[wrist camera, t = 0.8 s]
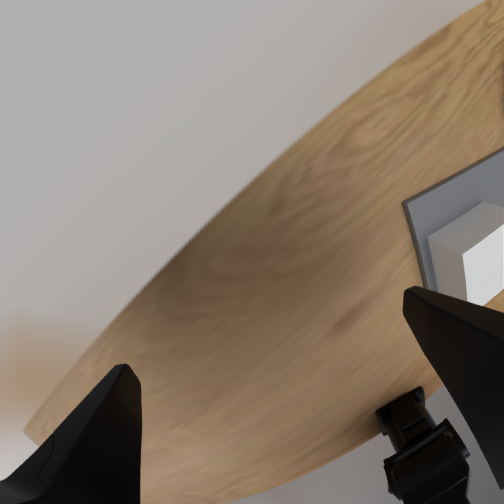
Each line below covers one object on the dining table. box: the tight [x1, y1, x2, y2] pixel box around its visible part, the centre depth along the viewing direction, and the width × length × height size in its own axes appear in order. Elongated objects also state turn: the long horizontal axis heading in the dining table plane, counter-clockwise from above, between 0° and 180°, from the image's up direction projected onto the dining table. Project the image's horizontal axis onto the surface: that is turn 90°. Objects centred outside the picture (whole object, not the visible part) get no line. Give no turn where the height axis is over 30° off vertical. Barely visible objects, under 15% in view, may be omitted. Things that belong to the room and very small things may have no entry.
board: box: [402, 147, 504, 292], centre depth 22 cm, size 13×17×1 cm
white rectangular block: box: [427, 202, 504, 306], centre depth 19 cm, size 6×8×5 cm
